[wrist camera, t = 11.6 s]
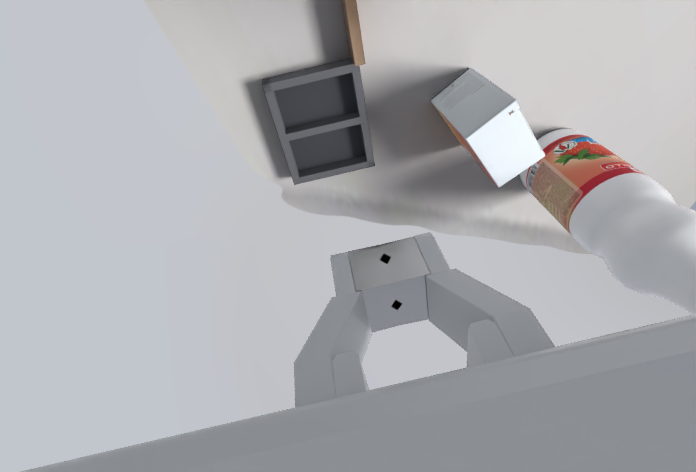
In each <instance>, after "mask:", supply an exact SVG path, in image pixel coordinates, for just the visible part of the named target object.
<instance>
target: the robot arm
mask: <svg viewBox="0 0 696 472" xmlns="http://www.w3.org/2000/svg"><path fill="white" fill-rule="evenodd" d="M348 255H349V256H348ZM331 265H332V271H333V278H334V285H335V291H336V297H333V298H331V300H330V301H329V303H328V305H327V307H326V308H325V310H324V312H323V314H322V315H321V317H320V319H319V320H318V322H317V324H316V326H315V327H314V329H313V331H312V333H311V334H310V336H309V338H308V340H307V341H306V343H305V345H304V347H303V349H302V350H301V352H300V354H299V355H298V357H297V359H296V360H295V362H294V377H295V408H292V409H287V410H283V411H278V412H274V413H270V414H266V415H261V416H257V417H253V418H249V419H244V420H240V421H236V422H231V423H227V424H223V425H219V426H214V427H210V428H206V429H201V430H197V431H193V432H188V433H184V434H180V435H176V436H171V437H167V438H163V439H158V440H154V441H150V442H146V443H141V444H137V445H133V446H128V447H124V448H120V449H115V450H111V451H107V452H103V453H98V454H94V455H90V456H86V457H81V458H77V459H73V460H68V461H64V462H60V463H56V464H51V465H47V466H43V467H38V468H34V469H30V470H26V471H21V472H696V314H694V315H690V316H686V317H681V318H677V319H673V320H669V321H664V322H660V323H655V324H651V325H647V326H643V327H639V328H634V329H630V330H626V331H622V332H617V333H613V334H608V335H605V336H600V337H595V338H591V339H587V340H583V341H578V342H574V343H570V344H565V345H561V346H557V347H555V346H554V344H553V343H552V341H551V340H550V338H549V337H548V335H547V334H546V332H545V331H544V329H543V328H542V326H541V325H540V323H539V322H538V320H537V319H536V317H535V316H534V314H533V313H532V311H531V310H530V308H528V307H526V306H524V305H522V304H520V303H519V302H517V301H515V300H513V299H511V298H509V297H508V296H506V295H504V294H502V293H500V292H498V291H496V290H494V289H493V288H491V287H489V286H487V285H485V284H483V283H481V282H480V281H478V280H476V279H474V278H472V277H470V276H468V275H466V274H464V273H462V272H461V271H459V270H457V269H452V270H450V268H449V266H448V264H447V262H446V260H445V258H444V256H443V254H442V252H441V250H440V249H439V246H438V245H437V242H436V240H435V239H434V237H433V235H432V234H431V233H430V232H428V233H425V234H421V235H417V236H414V237H410V238H406V239H402V240H397V241H394V242H389V243H385V244H381V245H377V246H372V247H367V248H363V249H358V250H353V251H348V252H345V253H340V254H336V255H331ZM427 319H429V321H430V322H431V323H433V324H434V325H435V326H436V327H437V328H439V329H440V330H441V331H442V332H444V333H445V334H446V335H447V336H449V337H450V338H451V339H452V340H453V341H455V342H456V343H457V344H458V345H459V346H461V347H462V348H463V349H464V350H466V351H467V368H463V369H459V370H455V371H450V372H446V373H442V374H437V375H433V376H429V377H424V378H420V379H416V380H412V381H408V382H403V383H399V384H394V385H390V386H386V387H381V388H377V389H373V390H369V388H368V385H367V381H366V378H365V374H364V371H363V368H362V361H363V358H364V355H365V353H366V350H367V347H368V344H369V341H370V339H371V336H372V332H376V331H379V330H383V329H387V328H391V327H395V326H398V325H403V324H408V323H412V322H417V321H422V320H427Z"/></svg>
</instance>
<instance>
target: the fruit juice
mask: <svg viewBox="0 0 696 472" xmlns="http://www.w3.org/2000/svg"><path fill="white" fill-rule="evenodd" d="M537 142H538V143H539V145H540V147H541V149H542V150H543V152H544V153H545V157H543V158H542V159H540V160H539V161H537V162H536V163H535V164H533V165H532V166H530V167H529V168H527V169H526V170H524V171H523V172H521V173H520V178H521V181H522V183H523V184H524V186H525V187H526V188H527V189H528V190H529V192H530V193H531V194H532V195H533V196H534V197H535V198H536V199H537V200H538V201H539V202H540V203H541V204H542V205H543V206H544V207H545V208H546V209H547V210H548V211H549V212H550V213H551V214H552V215H553V216H554V218H555V219H556V220H557V221H558V222H559V223H560V224H561V225H562V226H563V227H564V228H565V229H566V230H567V231H568V232H569V233H570V234H571V235H572V236H573V238H574V239H575V240H576V241H577V242H578V243H579V244H581V245H582V246H583V247H584V248H585V249H586V250H588V251H589V252H590V253H592V254H593V255H595V256H598V257H600V258H602V259H604V261H605V263H606V266H607V268H608V269H609V271H610V273H611V274H612V276H613V277H614V278H615V279H616V280H618V281H619V282H620V283H621V284H622V285H623V286H625V287H626V288H628V289H630V290H632V291H635V292H638V293H641V294H646V295H652V296H658V297H662V298H664V299H666V300H669V301H670V302H673V303H674V304H676V305H678V306H680V307H682V308H684V309H685V310H687V311H688V312H690V313H691V314H692V315H694V314H696V211H694V210H692V209H689V208H686V207H683V206H680V205H677V204H676V203H675V202H674V200H673V198H672V196H671V195H670V193H669V192H668V191H667V190H666V189H664V188H663V187H662V186H661V185H660V184H658V183H657V182H656V181H654V180H653V179H652V178H650V177H648V176H647V175H645V174H644V173H642V172H641V171H639V170H638V169H636V168H635V167H633V166H632V165H630V164H629V163H627V162H626V161H624V160H623V159H621V158H620V157H618V156H617V155H615V154H614V153H612V152H611V151H609V150H608V149H606V148H605V147H603V146H602V145H600V144H599V143H597V142H596V141H594V140H593V139H591V138H590V137H588V136H587V135H585V134H583V133H581V132H579V131H577V130H573V129H559V130H555V131H552V132H550V133H547V134H546V135H544V136H542V137H541V138H539V139H538V140H537Z"/></svg>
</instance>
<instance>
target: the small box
mask: <svg viewBox="0 0 696 472" xmlns="http://www.w3.org/2000/svg"><path fill="white" fill-rule="evenodd" d="M431 103H432V104H433V105H434V107H435V108H436V109H437V111H438V112H439V113H440V115H441V116H442V118H443V119H444V120H445V122H446V123H447V125H448V126H449V128H450V129H451V131H452V132H453V134H454V135H455V137H456V138H457V139H458V141H459V142H460V144H461V145H462V146H463V147H464V148H465V149H466V150H467V152H468V153H469V154H470V155H471V157H472V158H473V159H474V160H475V161H476V162H477V163H478V165H479V166H480V167H481V168H482V170H483V171H484V172H485V173H486V174H487V175H488V177H489V178H490V179H491V180H492V181H493V183H494V184H495V185H496V186H497V187H498V188H499V187H501V186H502V185H504V184H505V183H507V182H508V181H510V180H511V179H513V178H514V177H515V176H517V175H518V174H520V173H521V172H523V171H524V170H526V169H527V168H529V167H530V166H532V165H533V164H535V163H536V162H537V161H539V160H540V159H542V158H543V157H545V153H544V152H543V150H542V149H541V147H540V145H539V143H538V142H537V140H536V138H535V136H534V134H533V132H532V130H531V129H530V127H529V125H528V123H527V121H526V119H525V117H524V115H523V113H522V111H521V109H520V106H519V104H518V102H517V100H516V99H515V98H513V97H512V96H511V95H509V94H508V93H506V92H505V91H503V90H502V89H501V88H499V87H498V86H497V85H495V84H494V83H492V82H491V81H489V80H488V79H487V78H485V77H484V76H482V75H481V74H479V73H478V72H476V71H475V70H474V69H472V68H470V69H468V70H467V71H466V72H465V73H464V74H462V75H461V76H460V77H459V78H458V79H456V80H455V81H454V82H453V83H452V84H450V85H449V86H448V87H447V88H446V89H444V90H443V91H442V92H441V93H439V94H438V95H437V96H436V97H435V98H433V99H432V100H431Z"/></svg>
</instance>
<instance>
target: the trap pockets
mask: <svg viewBox="0 0 696 472" xmlns="http://www.w3.org/2000/svg"><path fill="white" fill-rule="evenodd" d="M262 86H263V89H264V92H265V95H266V98H267V102H268V105H269V108H270V111H271V114H272V117H273V120H274V123H275V126H276V129H277V133H278V136H279V139H280V142H281V145H282V148H283V151H284V154H285V157H286V160H287V164H288V167H289V170H290V173H291V176H292V179H293V182H294V185H296V184H300V183H304V182H308V181H313V180H317V179H321V178H325V177H330V176H334V175H338V174H342V173H347V172H351V171H355V170H359V169H364V168H368V167H372V166H375V164H374V157H373V151H372V144H371V138H370V131H369V125H368V119H367V112H366V106H365V99H364V93H363V86H362V80H361V74H360V67H359V66H355V65H354V63H353V61H352V59H346V60H342V61H338V62H334V63H330V64H325V65H321V66H317V67H313V68H309V69H304V70H300V71H296V72H292V73H287V74H283V75H279V76H275V77H271V78H266V79H263V83H262Z"/></svg>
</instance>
